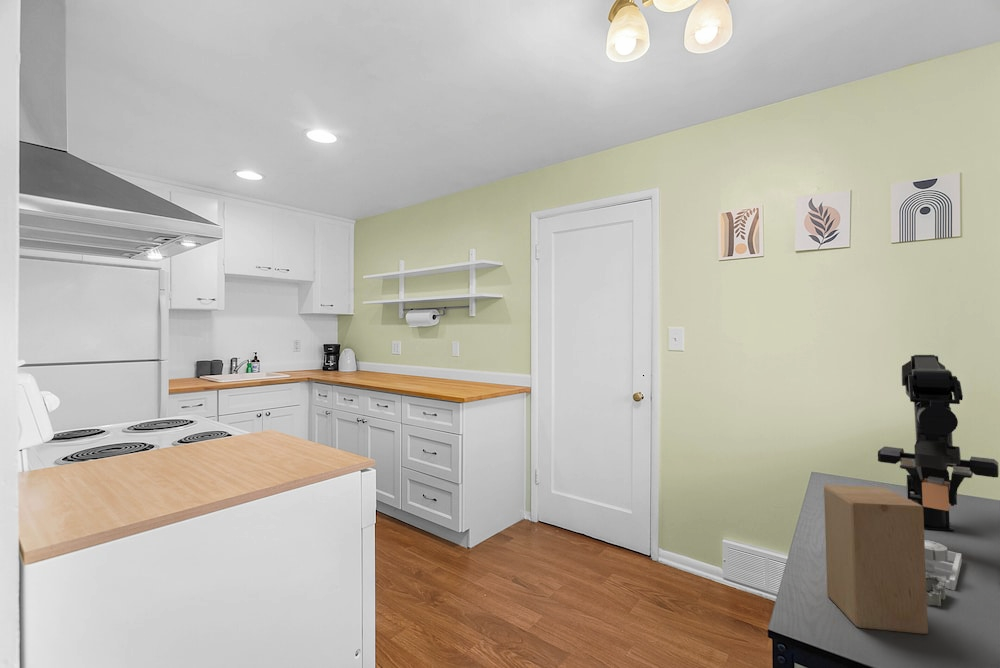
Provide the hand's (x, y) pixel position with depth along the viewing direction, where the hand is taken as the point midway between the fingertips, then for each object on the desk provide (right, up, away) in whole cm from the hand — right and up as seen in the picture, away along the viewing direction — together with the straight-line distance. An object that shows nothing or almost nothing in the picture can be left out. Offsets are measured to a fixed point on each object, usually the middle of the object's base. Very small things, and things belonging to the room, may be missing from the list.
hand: (936, 501), depth 100 cm
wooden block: (-31, -11, -22) cm, 40 cm away
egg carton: (-20, -12, -15) cm, 27 cm away
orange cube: (0, -1, 0) cm, 1 cm away
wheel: (-11, -7, -10) cm, 16 cm away
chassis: (-8, -11, -7) cm, 15 cm away
